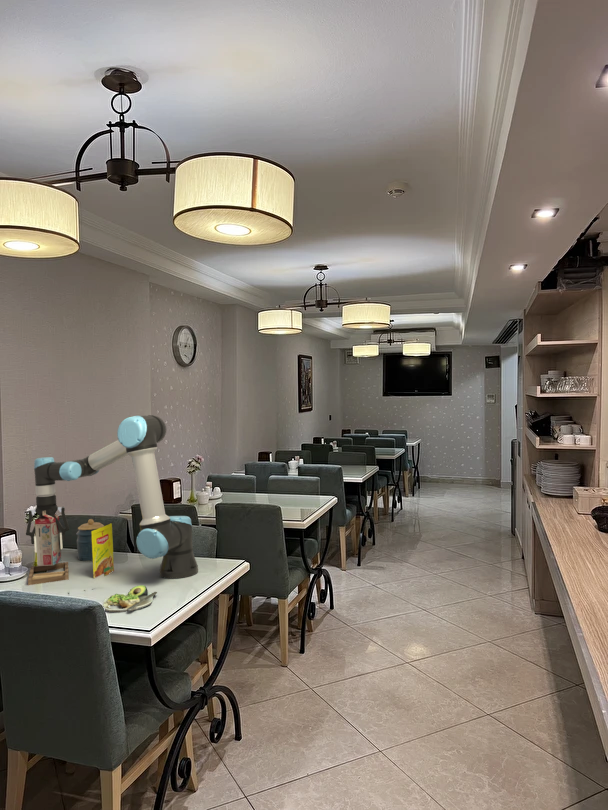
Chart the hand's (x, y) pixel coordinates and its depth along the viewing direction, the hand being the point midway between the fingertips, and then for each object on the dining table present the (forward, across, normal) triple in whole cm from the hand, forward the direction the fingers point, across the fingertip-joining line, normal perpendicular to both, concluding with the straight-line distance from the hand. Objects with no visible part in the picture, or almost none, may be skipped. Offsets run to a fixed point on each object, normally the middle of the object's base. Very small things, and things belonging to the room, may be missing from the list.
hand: (48, 550), depth 242 cm
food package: (+11, -20, +12) cm, 26 cm away
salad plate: (+12, -26, +52) cm, 59 cm away
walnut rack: (+11, 0, +4) cm, 12 cm away
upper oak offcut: (+10, 0, +10) cm, 14 cm away
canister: (+11, -17, -24) cm, 32 cm away
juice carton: (+6, 0, 0) cm, 6 cm away
